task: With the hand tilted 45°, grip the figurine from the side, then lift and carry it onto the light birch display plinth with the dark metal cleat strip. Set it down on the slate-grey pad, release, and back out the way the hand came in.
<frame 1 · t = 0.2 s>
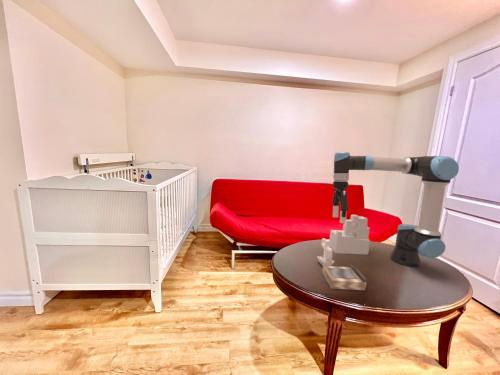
hand: (338, 219, 118), 28 cm above the table, tool pointing down, fingers open, 13 cm apart
building blocks: (347, 250, 147), on the table
display plinth: (342, 280, 109), on the table
figurine: (325, 265, 125), on the table
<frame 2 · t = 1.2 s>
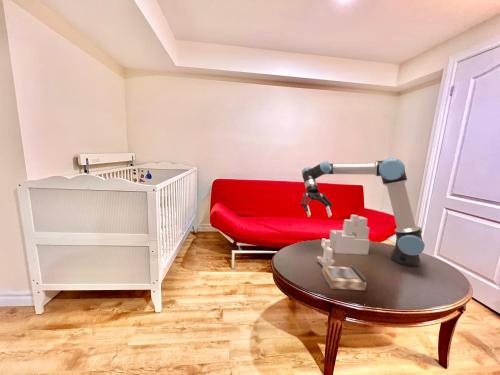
hand: (319, 216, 132), 26 cm above the table, tool tilted 45°, fingers open, 13 cm apart
nothing on the table moved.
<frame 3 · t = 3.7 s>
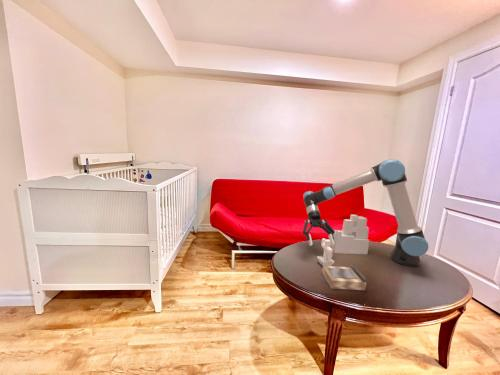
hand: (322, 245, 127), 10 cm above the table, tool tilted 45°, fingers open, 13 cm apart
nothing on the table moved.
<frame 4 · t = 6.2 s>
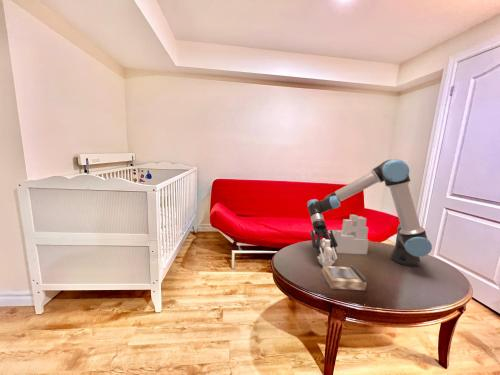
hand: (329, 259, 121), 5 cm above the table, tool tilted 45°, fingers closed on figurine, 7 cm apart
figurine: (324, 265, 125), on the table, touching gripper
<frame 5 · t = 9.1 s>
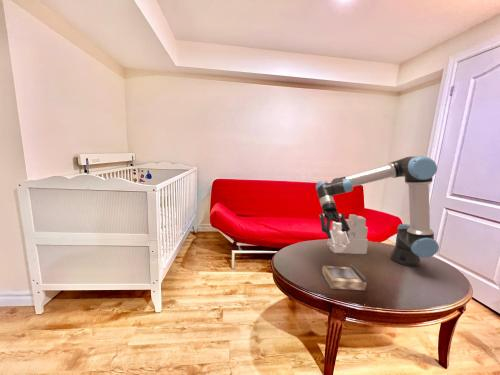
hand: (340, 244, 109), 18 cm above the table, tool tilted 45°, fingers closed on figurine, 7 cm apart
figurine: (335, 250, 113), point 13 cm above the table, touching gripper
when the fingers open (10 cm above the table, at t = 12.1 s): figurine moves 1 cm, resting on display plinth.
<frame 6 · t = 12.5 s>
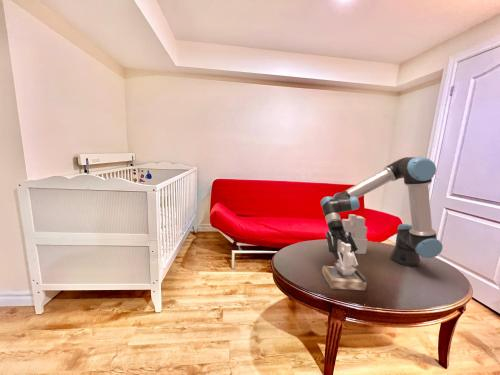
hand: (348, 265, 104), 10 cm above the table, tool tilted 45°, fingers open, 7 cm apart
figurine: (344, 273, 109), point 4 cm above the table, touching display plinth
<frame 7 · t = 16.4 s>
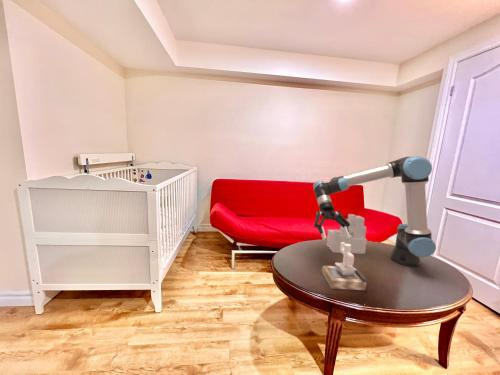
hand: (336, 238, 114), 19 cm above the table, tool tilted 45°, fingers open, 13 cm apart
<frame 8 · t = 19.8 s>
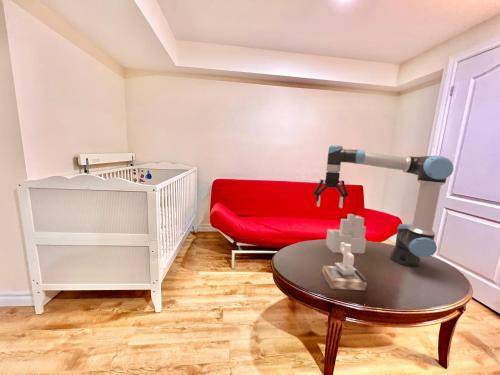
hand: (329, 207, 131), 32 cm above the table, tool pointing down, fingers open, 13 cm apart
at the end: figurine inside the target area on the display plinth (0.7 cm from its centre), point 4.1 cm above the display plinth's base; figurine touching display plinth; figurine tilted 0° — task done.
